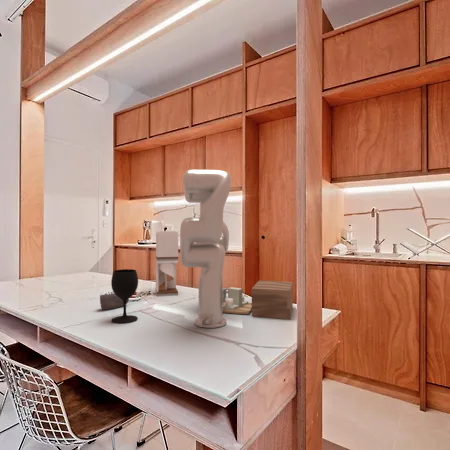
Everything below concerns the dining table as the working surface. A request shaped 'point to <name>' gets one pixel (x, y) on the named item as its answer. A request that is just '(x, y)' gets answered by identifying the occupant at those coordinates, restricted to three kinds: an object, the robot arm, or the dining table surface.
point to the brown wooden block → (272, 299)
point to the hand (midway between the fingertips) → (208, 301)
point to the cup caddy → (234, 299)
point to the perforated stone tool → (110, 301)
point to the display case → (166, 262)
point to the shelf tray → (241, 310)
